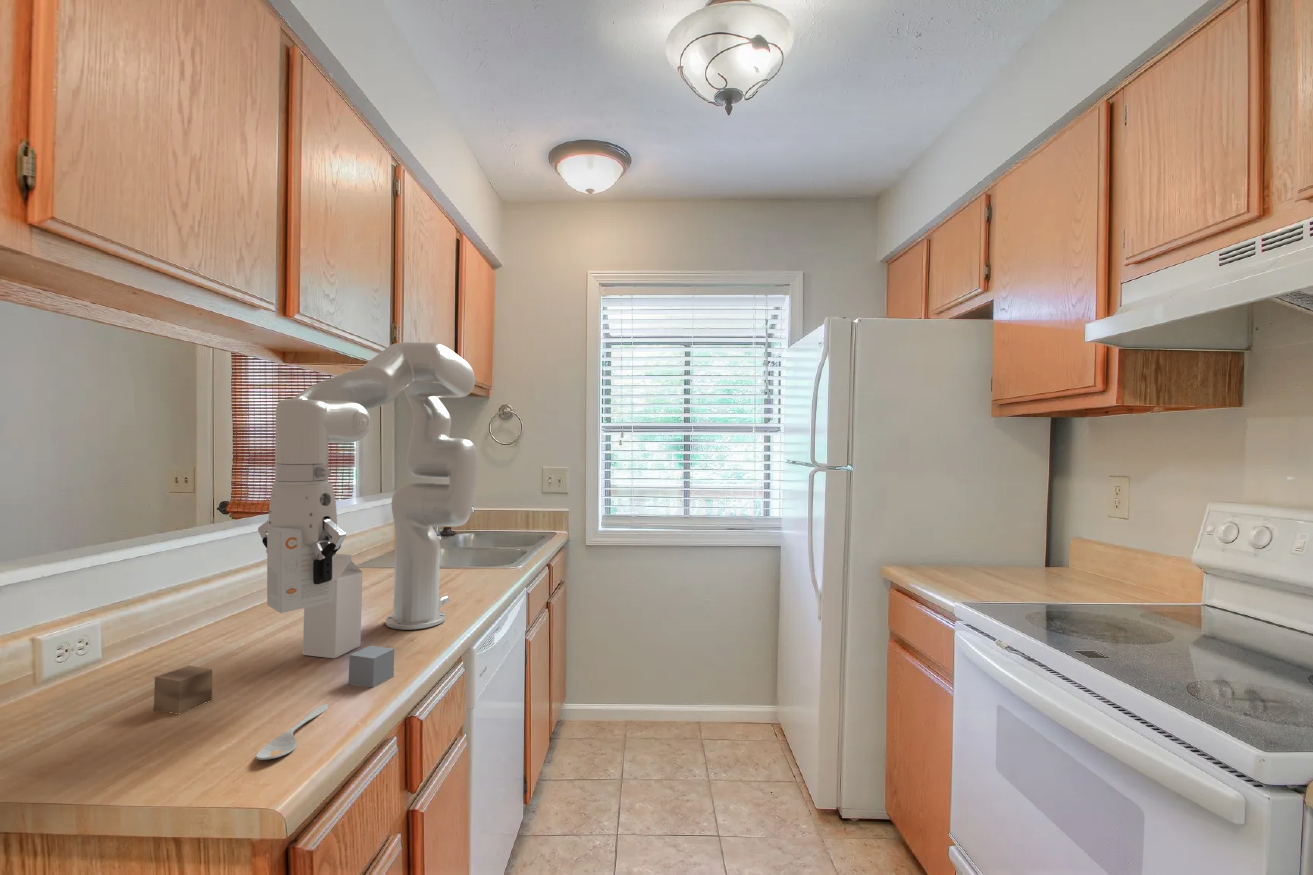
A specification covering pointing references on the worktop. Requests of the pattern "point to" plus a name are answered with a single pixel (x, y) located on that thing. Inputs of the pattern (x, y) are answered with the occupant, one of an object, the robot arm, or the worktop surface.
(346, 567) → the milk carton
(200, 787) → the worktop surface
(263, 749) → the spoon
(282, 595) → the small box
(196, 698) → the walnut block
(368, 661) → the slate block
